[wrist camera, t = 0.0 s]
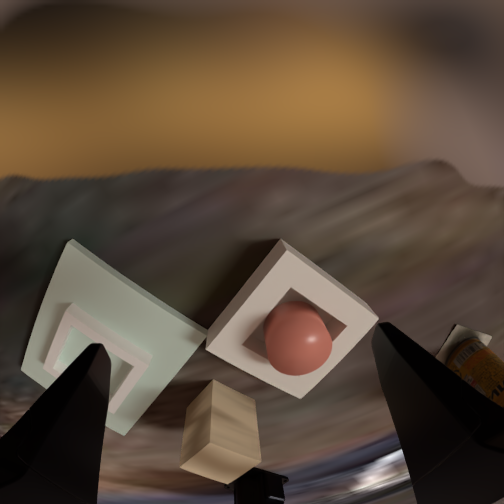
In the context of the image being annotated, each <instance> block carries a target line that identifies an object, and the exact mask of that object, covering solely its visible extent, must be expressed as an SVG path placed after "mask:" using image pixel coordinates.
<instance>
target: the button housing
mask: <svg viewBox="0 0 504 504" xmlns="http://www.w3.org/2000/svg"><path fill="white" fill-rule="evenodd" d="M289 301H302V302H306V303H308V304H310V305H312V306H313V307H314V308H315V309H316V310H317V311H318V313H319V315H320V317H321V319H322V321H323V322H324V324H325V326H326V328H327V330H328V332H329V334H330V336H331V339H332V351H331V354H330V356H329V358H328V359H327V361H326V362H325V363H324V364H323V365H322V366H321V367H319V368H318V369H316V370H315V371H313V372H311V373H308V374H304V375H299V376H291V375H286V374H283V373H280V372H279V371H277V370H276V369H274V368H273V366H272V365H271V364H270V362H269V359H268V355H267V349H266V344H265V338H264V333H263V325H264V321H265V319H266V317H267V315H268V314H269V313H270V312H271V311H272V310H273V309H274V308H275V307H277V306H278V305H280V304H282V303H285V302H289ZM378 319H379V318H378V317H377V315H376V314H375V313H374V312H373V311H372V309H371V308H370V307H369V306H368V305H367V303H366V302H364V301H363V300H362V299H360V298H359V297H358V296H356V295H355V294H354V293H353V292H351V291H350V290H349V289H347V288H346V287H345V286H343V285H342V284H341V283H339V282H338V281H337V280H335V279H334V278H333V277H331V276H330V275H329V274H327V273H326V272H325V271H323V270H322V269H321V268H319V267H318V266H317V265H315V264H314V263H313V262H311V261H310V260H309V259H307V258H306V257H305V256H303V255H302V254H301V253H299V252H298V251H297V250H295V249H294V248H293V247H291V246H290V245H289V244H287V243H286V242H284V241H283V240H282V239H280V240H279V241H278V242H277V243H276V245H275V246H274V247H273V249H272V250H271V251H270V252H269V254H268V255H267V256H266V257H265V259H264V260H263V261H262V263H261V264H260V265H259V266H258V268H257V269H256V270H255V271H254V273H253V274H252V275H251V276H250V278H249V279H248V280H247V281H246V283H245V284H244V285H243V287H242V288H241V289H240V290H239V292H238V293H237V294H236V295H235V297H234V298H233V299H232V300H231V302H230V303H229V304H228V305H227V307H226V308H225V309H224V310H223V312H222V313H221V314H220V315H219V317H218V318H217V319H216V320H215V322H214V323H213V324H212V325H211V327H210V328H209V329H208V332H207V342H206V350H207V351H209V352H211V353H212V354H214V355H216V356H218V357H220V358H221V359H223V360H225V361H227V362H229V363H230V364H232V365H234V366H236V367H238V368H240V369H242V370H244V371H245V372H247V373H249V374H251V375H253V376H255V377H257V378H259V379H261V380H263V381H265V382H267V383H269V384H271V385H273V386H275V387H277V388H279V389H281V390H283V391H285V392H287V393H289V394H291V395H293V396H295V397H298V398H300V399H301V398H302V397H303V396H305V395H306V394H307V393H308V392H309V391H310V390H311V389H312V388H313V387H314V386H315V385H316V384H317V383H318V382H319V381H320V380H321V379H322V378H323V377H325V376H326V375H327V374H328V373H329V372H330V371H331V370H332V369H333V368H334V367H335V366H336V365H337V364H338V363H339V362H340V361H341V359H342V358H343V357H344V356H345V355H346V354H347V353H348V352H349V351H350V350H351V349H352V348H353V347H354V346H355V345H356V344H357V343H358V342H359V341H360V339H361V338H362V337H363V336H364V335H365V334H366V333H367V332H368V331H369V330H370V328H371V327H372V326H373V325H374V324H375V323H376V322H377V321H378Z"/></svg>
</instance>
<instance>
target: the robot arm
mask: <svg viewBox="0 0 504 504" xmlns="http://www.w3.org/2000/svg"><path fill="white" fill-rule="evenodd" d="M371 344H372V350H373V354H374V358H375V362H376V366H377V370H378V375H379V379H380V383H381V387H382V390H383V393H384V395H385V398H386V401H387V404H388V407H389V410H390V413H391V416H392V419H393V422H394V425H395V428H396V431H397V435H398V438H399V441H400V444H401V447H402V451H403V454H404V457H405V461H406V464H407V467H408V471H409V474H410V478H411V481H412V485H413V489H414V493H415V497H416V500H417V504H504V408H503V407H501V406H500V405H498V404H497V403H495V402H494V401H492V400H491V399H489V398H488V397H486V396H485V395H483V394H482V393H480V392H479V391H478V390H476V389H475V388H474V387H472V386H471V385H470V384H469V383H467V382H466V381H465V380H464V379H461V377H460V376H458V375H457V374H456V373H455V372H453V371H452V370H451V369H449V368H448V367H447V366H446V365H444V364H443V363H442V362H441V361H439V360H438V359H437V358H435V357H434V356H433V355H432V354H430V353H429V352H428V351H426V350H425V349H424V348H422V347H421V346H420V345H419V344H417V343H416V342H415V341H413V340H412V339H411V338H409V337H408V336H407V335H406V334H404V333H403V332H402V331H400V330H399V329H398V328H396V327H395V326H394V325H392V324H391V323H389V322H383V323H378V324H377V325H376V328H375V331H374V334H373V337H372V342H371ZM111 365H112V364H111V359H110V357H109V355H108V353H107V351H106V349H105V347H104V345H103V344H102V343H91V344H89V345H88V346H87V347H86V348H85V349H84V351H83V352H82V353H81V354H80V355H79V356H78V357H77V358H76V359H75V360H74V361H73V362H72V363H71V364H70V365H69V366H68V367H67V368H66V369H65V370H64V371H63V372H62V374H61V375H60V376H59V377H58V378H57V379H56V380H55V381H54V382H53V383H52V384H51V385H50V386H49V387H48V389H47V390H46V391H45V392H44V393H43V394H42V395H41V396H40V397H39V398H38V399H37V401H36V402H35V403H34V404H33V405H32V406H31V407H30V408H29V410H27V412H26V413H25V414H24V415H23V416H22V417H21V418H20V419H19V420H18V421H17V423H16V424H15V425H14V426H13V427H12V428H11V429H10V430H9V431H8V432H7V433H6V434H5V435H3V436H2V437H1V438H0V504H97V493H98V482H99V472H100V462H101V454H102V446H103V439H104V432H105V425H106V418H107V412H108V405H109V393H110V378H111ZM288 481H289V479H288V477H285V476H281V475H277V474H274V473H270V472H267V471H264V470H260V469H257V468H252V469H250V470H249V471H247V472H246V473H244V474H243V475H241V476H240V477H238V478H237V479H235V480H234V481H232V482H231V483H229V484H225V489H228V490H232V491H234V504H284V501H285V496H284V490H283V484H285V483H286V482H288Z"/></svg>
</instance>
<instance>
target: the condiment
mask: <svg viewBox="0 0 504 504" xmlns="http://www.w3.org/2000/svg"><path fill="white" fill-rule="evenodd" d="M464 337H465V338H464ZM491 338H492V336H489V335H486V334H483V333H481V332H478V331H475V330H472V329H469V328H467V327H463V326H460V325H456V327H455V329H454V330H453V331H452V332H451V334H450V336H449V337H448V339H447V341H446V342H445V343H444V345H443V347H442V348H441V350H440V351H439V353H438V354H437V355H436V357H435V358H437V359H438V360H439V361H441V362H443V364H444V365H446V366H447V367H448V368H449V369H451V370H452V371H453V372H455V373H456V374H457V375H458V376H460V377H461V379H464V380H465V381H466V382H467V383H469V384H470V385H471V386H472V387H474V388H475V389H476V390H478V391H479V392H480V393H482V394H483V395H485V396H486V397H488V398H489V399H491V400H492V401H494V402H495V403H497V404H498V405H500V406H501V407H503V408H504V362H503V361H502V360H501V359H500V358H499V357H498V356H497V355H495V353H493V352H492V351H491V350H490V349H489V348H488V347H487V345H488V343H489V342H490V340H491Z"/></svg>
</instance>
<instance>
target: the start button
mask: <svg viewBox="0 0 504 504" xmlns="http://www.w3.org/2000/svg"><path fill="white" fill-rule="evenodd" d="M263 333H264V338H265V344H266V349H267V355H268V359H269V362H270V364H271V365H272V366H273V368H274V369H276V370H277V371H279V372H280V373H283V374H286V375H291V376H299V375H304V374H308V373H311V372H313V371H315V370H316V369H318V368H319V367H321V366H322V365H323V364H324V363H325V362H326V361H327V359H328V358H329V356H330V354H331V351H332V339H331V336H330V334H329V332H328V330H327V328H326V326H325V324H324V322H323V321H322V319H321V317H320V315H319V313H318V311H317V310H316V309H315V308H314V307H313V306H312V305H310V304H308V303H306V302H302V301H289V302H285V303H282V304H280V305H278V306H277V307H275V308H274V309H273V310H272V311H271V312H270V313H269V314H268V315H267V317H266V319H265V321H264V325H263Z"/></svg>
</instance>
